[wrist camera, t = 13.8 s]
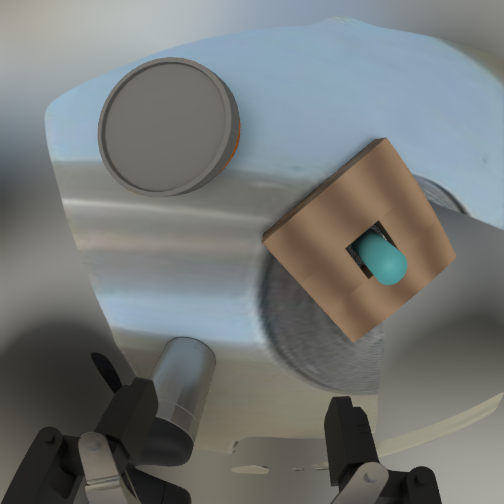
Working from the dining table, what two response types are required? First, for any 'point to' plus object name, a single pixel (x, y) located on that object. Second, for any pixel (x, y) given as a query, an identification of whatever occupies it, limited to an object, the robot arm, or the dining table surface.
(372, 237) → the peg
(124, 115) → the reusable coffee cup
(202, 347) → the robot arm
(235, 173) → the dining table surface
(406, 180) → the socket block
